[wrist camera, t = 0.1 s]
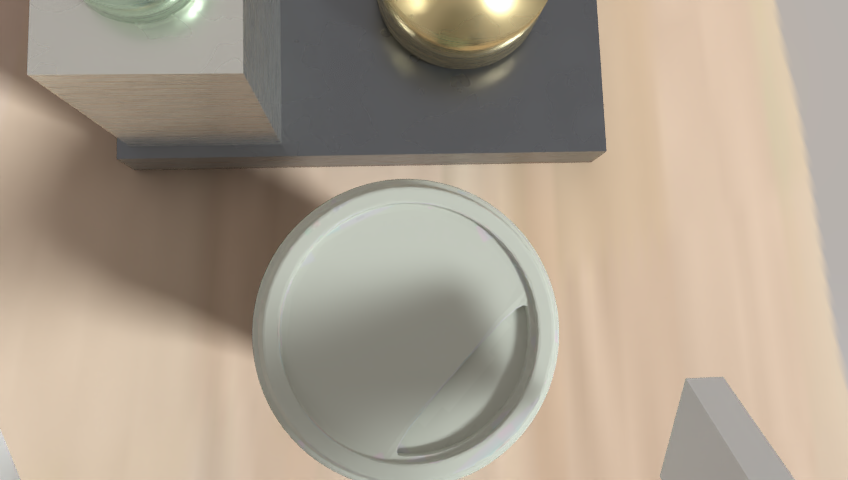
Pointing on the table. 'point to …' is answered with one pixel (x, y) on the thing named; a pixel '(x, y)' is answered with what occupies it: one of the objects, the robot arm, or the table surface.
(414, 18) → the door handle
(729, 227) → the table surface
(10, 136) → the table surface
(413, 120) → the levelling base
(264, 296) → the coffee cup
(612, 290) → the table surface
